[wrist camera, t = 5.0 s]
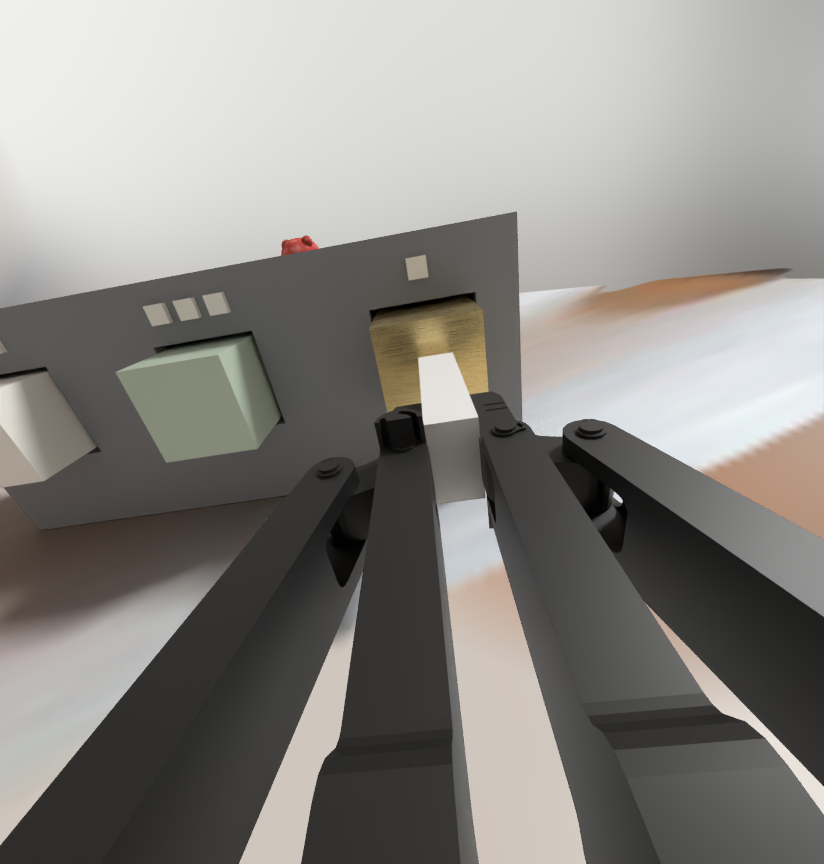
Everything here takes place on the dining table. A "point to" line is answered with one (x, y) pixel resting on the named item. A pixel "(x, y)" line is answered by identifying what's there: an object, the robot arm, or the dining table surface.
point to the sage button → (204, 397)
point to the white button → (37, 428)
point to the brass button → (428, 344)
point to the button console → (281, 353)
